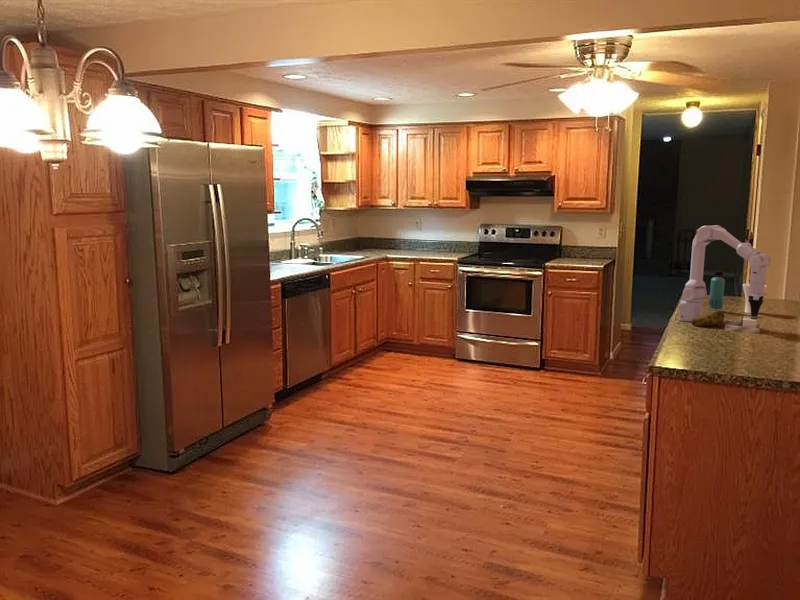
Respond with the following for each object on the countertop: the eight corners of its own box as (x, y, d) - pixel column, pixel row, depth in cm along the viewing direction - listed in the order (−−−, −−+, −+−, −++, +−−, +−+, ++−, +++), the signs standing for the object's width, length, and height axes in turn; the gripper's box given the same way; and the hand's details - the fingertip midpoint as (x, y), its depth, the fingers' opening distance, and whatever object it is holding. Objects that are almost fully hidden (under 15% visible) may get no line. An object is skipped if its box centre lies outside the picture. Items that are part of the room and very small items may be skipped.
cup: (763, 315, 319) (766, 287, 317) (738, 313, 324) (741, 285, 322) (764, 311, 328) (767, 284, 325) (740, 309, 333) (743, 282, 331)
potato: (690, 324, 297) (692, 307, 296) (722, 327, 292) (724, 309, 291) (691, 328, 290) (692, 310, 288) (724, 331, 285) (725, 312, 283)
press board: (724, 332, 282) (724, 325, 281) (725, 326, 294) (726, 319, 293) (759, 336, 276) (759, 329, 275) (759, 329, 288) (759, 322, 287)
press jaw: (740, 330, 281) (742, 310, 280) (740, 326, 289) (742, 306, 287) (755, 331, 278) (758, 311, 277) (755, 327, 286) (757, 307, 285)
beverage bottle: (721, 310, 331) (725, 270, 327) (723, 312, 325) (727, 271, 321) (707, 309, 333) (710, 269, 330) (708, 311, 327) (712, 271, 323)
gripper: (768, 285, 271) (765, 318, 273) (768, 280, 284) (764, 312, 286) (749, 284, 274) (745, 316, 277) (749, 279, 287) (746, 310, 289)
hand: (754, 314), depth 282 cm, fingers open, 7 cm apart
